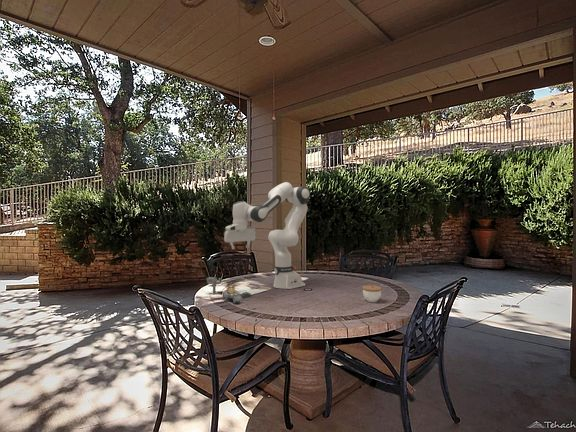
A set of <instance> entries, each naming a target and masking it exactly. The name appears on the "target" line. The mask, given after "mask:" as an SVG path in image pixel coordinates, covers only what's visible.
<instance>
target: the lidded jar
mask: <svg viewBox="0 0 576 432" xmlns="http://www.w3.org/2000/svg"><path fill="white" fill-rule="evenodd" d="M362 295H363V297H364V299H365V300H366V301H367V302H369V303H377V302H378V301H379V300H380V299H381V296H382V287H381V286H379V285H374V284H371V285H369V284H368V285H364V286H362Z"/></svg>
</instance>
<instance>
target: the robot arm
mask: <svg viewBox="0 0 576 432" xmlns="http://www.w3.org/2000/svg"><path fill="white" fill-rule="evenodd" d="M267 196H268V201H266V202H265V203H264V204H262V205H257V206H256V205H255V206H254V205H250V204H249V203H247V202H246V201H245V200H240V201H237V202H234V203H233V204H232V218H233V220H232V224H230V225H227V226H225V231H224V233H223V234H224V235H223V236H224V237H223V238H224V239H223V241H224V243H229V245H230V246H231V250H236V249H235V248H236V246H234V243H237V242H239V243H240V242H247V243H246V244H245V248H246V249H249V248H250V244H251V241H252V242H253V241H255V240H256V227H255V226H254V225H251V226H250V225H249V226H248V224H247V223H248V221H250V222H257V223H262V222H264V221H265V220H266V219H267V217H268V215H269V214H270V213H271V212H272V211H273V210H274V209H275V208H277V207H278V206H279V205H281V203H282V202H284V201H285V202H286V203H287V204H292V207H291V209H290V211H289V212H288V214H287V216H286V217H285V219H284V225H285V226H284V228H283V229H273V230H271V231H270V232H269V234H268V238H267V239H268V241H269V243H270V244H271V246H272V249H273V253H274V260H275V261H274V264H275V265H274V281H273V285H272V287H273V288H275V289H276V288H277V289H286V290H292V289H296V288H300V287H301V288H302V287H305V286H306V283H305V282H304V281H303V279H302V276H301V275H300V274H298V273H297V272H296V271H294V270H296V269H297V267H296V266H294V265H292V254H291V252H290V251H289V249H288V247H295V246H296V245H298V242H299V240H300V239H299V235H298V230H299V228H300V226H301V225H302V222H303V220H304V218H305V217H306V215H307V212H308V209H309V208H308V205H307V203H309V199H310V196H311V192H310V189H309V188H308V187H307V186H297V187H293V185H292V184H291V183H290V182H288V181H284V182H282V183H280V184H278V185H276V186H274V187H273V188H272V189H271V190H269V192H268V193H267Z"/></svg>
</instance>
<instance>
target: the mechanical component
mask: <svg viewBox="0 0 576 432" xmlns="http://www.w3.org/2000/svg"><path fill="white" fill-rule="evenodd" d="M205 280H206V284H207V285H211V287H212V294H213V295H214V294H216V287H217V285H220V284H221V283H222V281H223V279H222V278H221V277H219V278H217V277H213V276H212V277H211V276H208V277H206V278H205Z"/></svg>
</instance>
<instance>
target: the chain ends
mask: <svg viewBox="0 0 576 432" xmlns="http://www.w3.org/2000/svg"><path fill="white" fill-rule="evenodd" d="M251 297H252V293H251V292H247V291H246V292H245V291H244V292H242V293H240V292H238V291H237V290H235V289H234V293H231V294H229V290H225V291H222V299H223V300H224V301H226V302H232V303H233V304H234V305H239V304H241V301H242V300H243V299H247V298H251Z"/></svg>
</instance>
